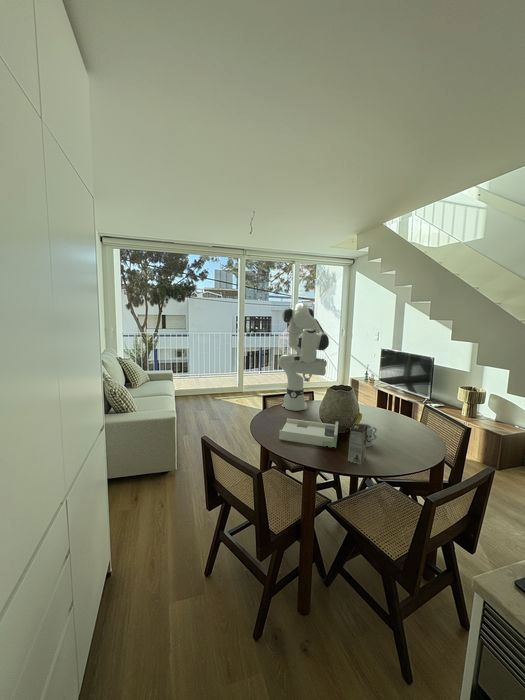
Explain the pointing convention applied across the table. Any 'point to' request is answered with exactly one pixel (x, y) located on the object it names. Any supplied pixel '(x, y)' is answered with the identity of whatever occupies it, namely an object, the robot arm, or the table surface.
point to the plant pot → (358, 419)
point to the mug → (369, 434)
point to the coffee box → (357, 443)
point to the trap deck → (308, 433)
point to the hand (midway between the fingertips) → (306, 381)
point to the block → (329, 430)
